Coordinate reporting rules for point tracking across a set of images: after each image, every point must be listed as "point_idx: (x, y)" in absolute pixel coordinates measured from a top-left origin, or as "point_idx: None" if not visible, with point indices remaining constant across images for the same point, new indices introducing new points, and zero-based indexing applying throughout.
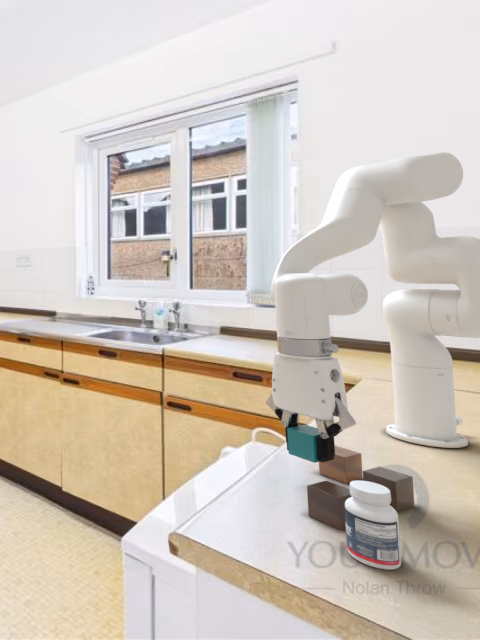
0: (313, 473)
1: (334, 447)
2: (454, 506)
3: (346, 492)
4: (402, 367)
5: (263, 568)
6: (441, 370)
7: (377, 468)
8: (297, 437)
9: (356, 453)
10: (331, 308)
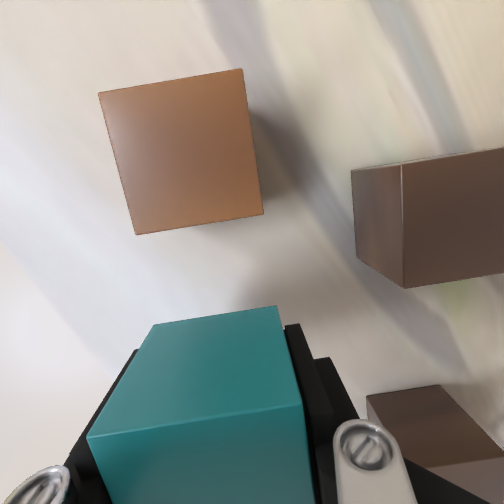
0: (161, 233)
1: (342, 384)
2: (497, 18)
3: (491, 485)
4: None
5: None
6: None
7: (413, 202)
8: None
9: (236, 97)
10: None
